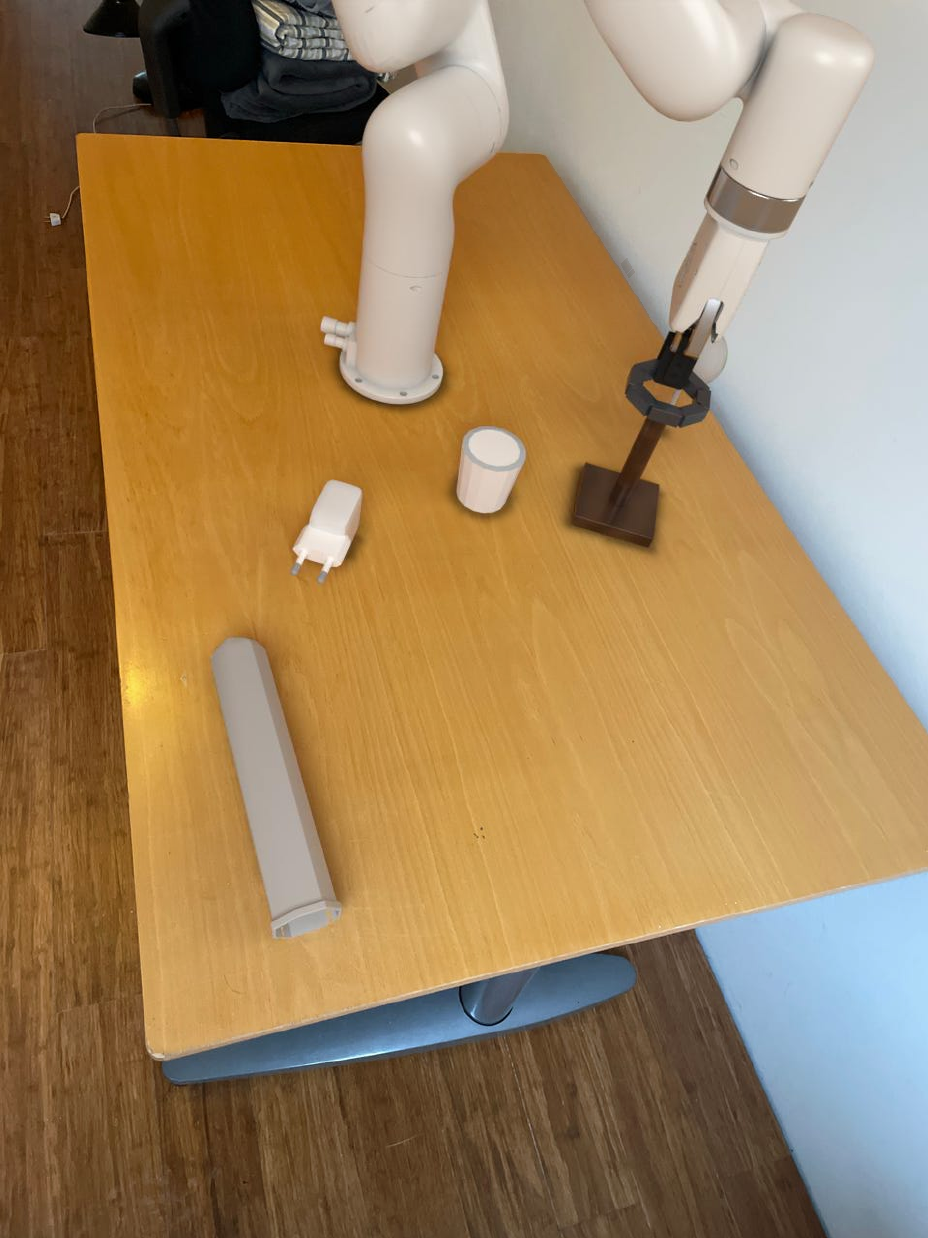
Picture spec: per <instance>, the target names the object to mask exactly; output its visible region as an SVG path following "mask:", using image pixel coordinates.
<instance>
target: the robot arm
mask: <svg viewBox="0 0 928 1238" xmlns="http://www.w3.org/2000/svg"><path fill="white" fill-rule="evenodd" d="M330 1H331V4H332V7H333V11H334V14H335V17H336V20H337V23H338V26H339V29H340V32H341V35H342V38H343V40H344V43H345V45H346V48H347V49H348V51H349V53H350V54H351V56H352V58H353V59H354V60H355V61H356V62H357V64H358V65H360V66H361V67H362V68H364V69H365V70H367V71H368V72H369V71H370V72H372V73H378V74H387V73H393V72H396V71H400V70H403V69H405V68H406V67H409V66H411V65H413V66H414V70H415V73H416V77H417V79H415V80H414V81H413V80H412V82H410V83H408V84H406V85H404V86H402V87H401V88H399V89H397V90H395V91H393V92H392V93H391V94H389V95H387V97H385V98H384V99H383V100H381V102H380V103H379V104H378V105H377V107H376V108H375V109H374V110H373V112H372V113H371V115H370V116H369V118H368V120H367V122H366V124H365V128H364V131H363V135H362V141H361V162H362V173H363V182H364V223H363V225H364V226H363V236H362V249H361V262H360V273H359V283H358V294H357V307H356V319H355V321H352V320H350V321H349V322H348V323H347V322H345V321H341V320H339V319H336V318H333V317H330V316H326V315H324V316H323V317H322V319H321V323H320V333H324V334H325V335H324V338H323V344H324V345H326V346H329V347H333V348H338V349H341V352H340V355H339V365H338V366H339V371H340V374H341V376H342V378H343V380H344V381H345V382H346V383H347V385H348V386H349V387H351V389H352V390H354V391H355V392H357V393H358V394H360V395H362V396H364V397H365V398H367V399H370V400H373V401H376V402H379V403H384V404H390V405H409V404H415V403H419V402H423V401H425V400H427V399H429V398H430V397H432V396H433V395H435V394H436V392H438V390H439V389H440V387H441V385H442V381H443V376H444V367H443V363H442V362H441V359H440V358H439V356H438V355H437V354H436V352H435V350H436V349H435V348H436V343H437V338H438V334H439V333H438V332H439V327H440V321H441V317H442V316H441V315H442V309H443V305H444V299H445V294H446V288H447V283H448V278H449V272H450V268H451V267H450V266H451V261H452V254H453V250H454V249H453V248H454V241H455V231H456V230H455V229H456V227H455V215H454V208H453V204H454V197H455V196H454V195H455V192H456V190H457V189H458V186H459V185H460V184H461V183H462V182H463V181H465V180H466V179H467V178H469V177H470V176H471V175H472V174H473V173H475V172H476V171H477V170H479V169H480V168H482V167H483V166H485V165H486V164H488V162H490V161H491V160H492V159H493V158H494V157H495V156H496V155H497V154H498V152H499V151H500V149H501V148H502V147H503V145H504V143H505V141H506V138H507V134H508V132H509V131H508V130H509V124H510V103H509V96H508V90H507V85H506V79H505V75H504V70H503V65H502V61H501V60H502V59H501V56H500V51H499V46H498V41H497V37H496V33H495V27H494V23H493V18H492V13H491V9H490V3H489V0H330ZM583 2H584V5H585V7H586V9H587V12H588V14H589V16H590V18H591V21H592V22H593V24H594V26H595V28H596V30H597V31H598V34H599V36H601V38H602V40H603V41H604V43H605V44H606V46H607V48H608V49H609V51H610V52H611V54H612V55H613V57H614V59H615V60H616V62H617V63H618V64H619V66H620V67H621V69H622V70H623V73H625V75H626V77H627V78H628V80H629V81H630V82H631V84H632V85H633V87H634V88H635V90H636V91H637V92H638V93H639V95H640V96H641V97H642V98H643V100H644V101H646V103H647V104H648V105H649V106H651V107H652V108H653V109H654V110H655V111H656V112H658V113H659V114H661V116H664V117H666V118H668V119H670V120H672V121H676V122H686V123H687V122H688V123H691V122H697V121H701V120H704V119H706V118H708V117H711V116H713V115H714V114H715V113H717V112H718V111H720V110H721V109H723V108H724V107H725V106H726V105H727V104H728V103H729V102H730V101H731V100H732V99H737V98H738V99H740V100H741V101H742V110H741V113H740V115H739V117H738V120H737V121H736V124H735V127H734V128H733V131H732V134H731V136H730V138H729V141H728V142H727V145H726V147H725V150H724V152H723V154H722V156H721V159H720V162H719V164H718V166H717V169H716V171H715V173H714V175H713V178H712V180H711V183H710V184H709V187H708V190H707V192H706V194H705V196H704V199H703V207H704V209H705V210H706V214H705V215H704V217H703V219H702V222H701V223H700V225H699V227H698V230H697V232H696V233H695V235H694V238H693V240H692V242H691V244H690V246H689V248H688V250H687V252H686V254H685V257H684V258H683V261H682V263H681V265H680V267H679V269H678V270H677V274H676V275H675V278H674V280H673V285H672V291H671V297H670V307H669V315H668V326H669V328H670V330H669V331H668V333H667V335H666V337H665V340H664V341H663V344H662V346H661V349H660V350H659V353H658V355H657V356H656V359H658V360H660V359H661V361H660V363H659V365H658V367H657V370H656V372H655V374H654V376H653V380H652V381H653V382H654V383H656V384H658V385H661V386H664V387H668V388H672V389H674V390H676V389H678V390H681V391H683V388H684V387H685V385H686V383H687V381H688V379H689V377H690V375H691V373H692V371H693V369H694V367H695V365H696V363H697V361H698V359H699V356H700V354H701V352H702V350H703V348H704V346H705V344H706V342H707V340H708V338H709V336H710V334H711V342H712V343H716V342H718V341H720V340H721V338H722V337H723V336H725V334H726V332H727V330H728V328H729V327H730V325H731V323H732V321H733V319H734V317H735V315H736V313H737V311H738V310H739V308H740V305H741V303H742V301H743V299H744V297H745V295H746V293H747V292H748V290H749V287H750V286H751V283H752V281H753V279H754V276H755V275H756V272H757V270H758V268H759V267H760V265H761V262H762V259H763V256H764V255H765V253H766V251H767V248H768V247H769V244H770V242H771V240H778V239H781V238H782V237H785V235H786V234H787V233H788V231H789V230H790V229H791V226H792V224H793V222H794V221H795V218H796V217H797V214H798V212H799V211H800V209H801V206H802V205H803V203H804V201H805V199H806V197H807V196H808V194H809V191H810V189H811V188H812V186H813V184H814V182H815V180H816V178H817V176H818V174H819V173H820V170H821V169H822V167H823V165H824V163H825V161H826V159H827V157H828V155H829V153H830V152H831V150H832V148H833V147H834V144H835V142H836V140H837V138H838V137H839V135H840V133H841V131H842V129H843V127H844V126H845V124H846V122H847V119H848V118H849V116H850V114H851V112H852V110H853V108H854V106H855V105H856V102H857V101H858V98H859V97H860V95H861V93H862V91H863V89H864V87H865V85H866V83H867V82H868V79H869V77H870V76H871V73H872V71H873V68H874V66H875V61H876V49H875V47H874V44H873V42H872V40H871V39H870V38H869V37H868V36H867V35H866V34H865V33H864V32H863V31H861V29H858V28H857V27H855V26H853V25H851V24H849V23H847V22H845V21H843V20H840V19H837V18H834V17H831V16H828V15H824V14H818V13H811V12H810V11H808V10H806V9H805V8H802V6H800V5H798V4H796V3H795V2H793V1H791V0H583ZM675 332H676V333H675Z"/></svg>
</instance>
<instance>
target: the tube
mask: <svg viewBox="0 0 928 1238" xmlns="http://www.w3.org/2000/svg"><path fill="white" fill-rule="evenodd" d="M209 659H210V667H211V672H212V677H213V681H214V685H215V689H216V693H217V694H216V695H217V698H218V702H219V707H220V711H221V715H222V719H223V723H224V727H225V732H226V734H227V739H228V745H229V748H230V752H231V756H232V760H233V764H234V770H235V773H236V778H237V781H238V786H239V789H240V794H241V798H242V802H243V806H244V810H245V815H246V819H247V823H248V827H249V832H250V837H251V840H252V845H253V848H254V852H255V856H256V857H255V858H256V861H257V865H258V866H257V867H258V869H259V874H260V878H261V882H262V886H263V887H262V888H263V890H264V895H265V899H266V902H267V907H268V911H269V915H270V919H271V921H270V934H271V938H272V939H279V938H281V939H279V940H292V939H294V938H295V939H296V938H299V937H301V936H304V935H307V934H310V933H313V932H316V931H319V930H321V929H323V928H324V927H327V926H328V925H330V924H332V923H334V922H336V921H338V920H339V919H341V917H342V912H343V905H342V902H341V901H338V899H337V897H336V894H335V889H334V887H333V883H332V878H331V875H330V872H329V869H328V868H329V867H328V865H327V861H326V858H325V853H324V852H323V848H322V844H321V840H320V836H319V833H318V830H317V825H316V823H315V819H314V816H313V812H312V810H311V805H310V802H309V798H308V794H307V790H306V787H305V784H304V780H303V778H302V777H303V776H302V773H301V770H300V766H299V763H298V760H297V756H296V752H295V749H294V746H293V741H292V738H291V735H290V731H289V728H288V724H287V721H286V718H285V714H284V711H283V707H282V703H281V700H280V696H279V694H278V693H279V692H278V690H277V686H276V682H275V679H274V675H273V671H272V667H271V665H270V660H269V657H268V653H267V650H266V648H264V647H263V646H262V645H261V644H260V643H259V642H258V641H257V640H256V639H253V638H248V637H226V638H225V639H224V641H222V643H220V644H219V645H218V646H217V647H216V648H215V649H214V651H213V653H212V654H211V656H210V658H209ZM326 910H329V914H330V913H331V916H330V918H331V917H332V918H331V919H333V922H330V921H329V919H328V916H327V913H326ZM335 920H336V921H335ZM281 927H283V932H284V938H282V937H283V935H282V930H281Z"/></svg>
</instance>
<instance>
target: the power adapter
mask: <svg viewBox="0 0 928 1238" xmlns="http://www.w3.org/2000/svg"><path fill="white" fill-rule="evenodd" d="M362 504H363V491H362V489H361V488H360V487H358V486H355V485H353V484H351V483H347V482H343V481H340V480H338V479H337V480H336V479H330V480H327V481H326V483H325V485H324V486H323V487H322V490H321V492H320V493H319V496H318V497H317V500H316V502H315V504H314V506H313V508H312V510H311V512H310V515H309V522H308V523H307V524H305V525H304V526H303V527H302V529H301V531H300V533H299V534H298V537H297V539H296V540H295V543H294V544H293V547H292V551H293V552H294V553H295V554H296V556H297V557H296V560H295V562H294V563H293V564H292V567H291V568H290V571H289V572H290V575H291V576H293V577H297V575H299V572H300V570H301V568H302V566H303V563H304V561H305V560H309V561H312V562H315V563H318V564H322V565H323V566H322V568H321V570H320V572H319V573H318V576H317V577H316V582H317V584H319V585H322V584H324V583H325V581H326V579H327V577H328V574H329V572H330V569H331V568H337V567H339V566H341V565H342V564H343V562H344V560H345V557H346V556H347V553H348V551H349V550H350V547H351V545H352V542H353V540H354V539H355V536H356V533H357V531H358V529H359V526H360V521H361V514H362Z"/></svg>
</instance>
